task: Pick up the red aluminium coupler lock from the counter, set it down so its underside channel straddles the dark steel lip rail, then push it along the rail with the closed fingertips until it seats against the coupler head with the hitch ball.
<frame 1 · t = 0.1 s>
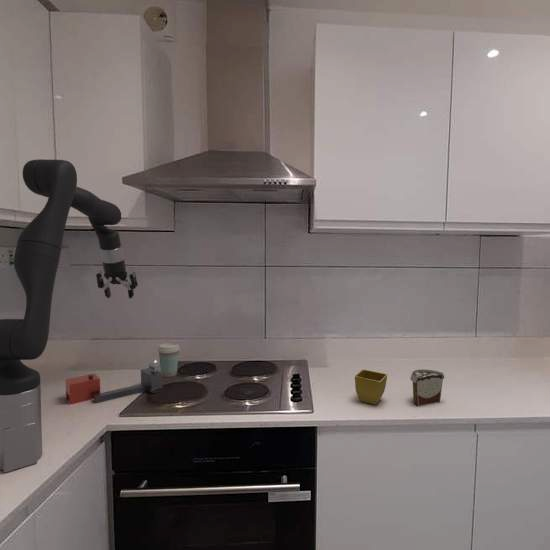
hand: (120, 297, 139), 31 cm above the worktop, tool tilted 20°, fingers open, 8 cm apart
coffee cup: (169, 375, 144), on the worktop
flower pot: (370, 401, 120), on the worktop
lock: (83, 397, 120), on the worktop
food container: (422, 401, 121), on the worktop
coupler: (128, 393, 124), on the worktop
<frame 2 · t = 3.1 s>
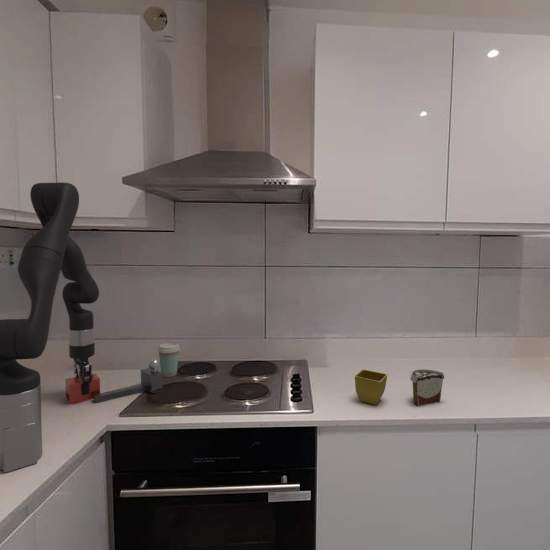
hand: (82, 390, 120), 2 cm above the worktop, tool pointing down, fingers closed on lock, 6 cm apart
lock: (83, 397, 120), on the worktop, touching gripper
everything else where it was.
when the fingers open (3 cm above the worktop, at t = 8.3 s): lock stays where it is, resting in coupler.
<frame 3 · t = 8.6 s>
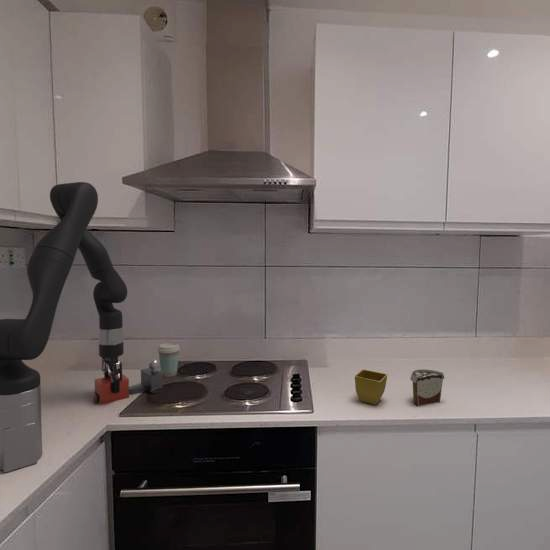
hand: (111, 388, 120), 3 cm above the worktop, tool pointing down, fingers open, 8 cm apart
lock: (111, 398, 120), resting in coupler
everything else where it was.
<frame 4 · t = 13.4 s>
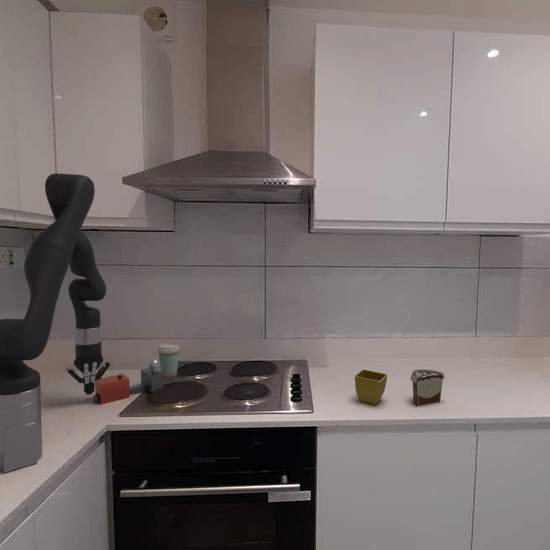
hand: (89, 393, 116), 3 cm above the worktop, tool pointing down, fingers closed
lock: (112, 397, 120), resting in coupler, touching gripper
everything else where it was.
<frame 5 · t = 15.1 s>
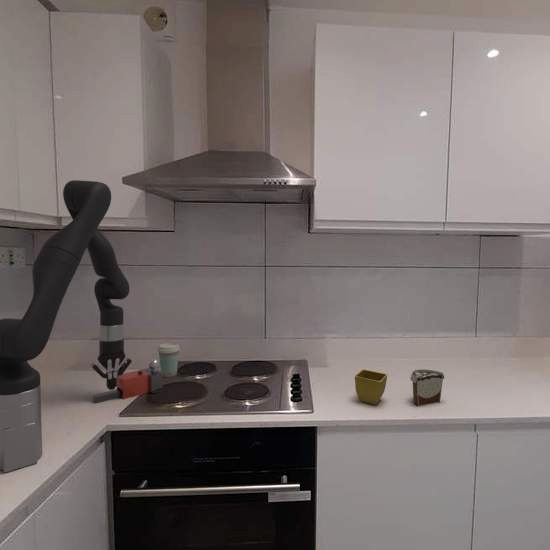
hand: (111, 388, 120), 3 cm above the worktop, tool pointing down, fingers closed
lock: (133, 392, 124), resting in coupler, touching gripper
everything else where it was.
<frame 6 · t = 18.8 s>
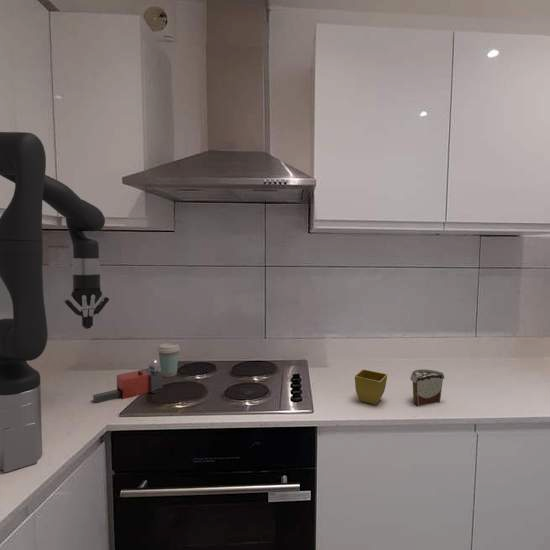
hand: (87, 328, 112), 25 cm above the worktop, tool pointing down, fingers closed
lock: (133, 393, 125), resting in coupler
everything else where it was.
at the end: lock 0.1 cm from the target spot, resting in coupler; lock tilted 0°; the gripper is holding nothing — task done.
